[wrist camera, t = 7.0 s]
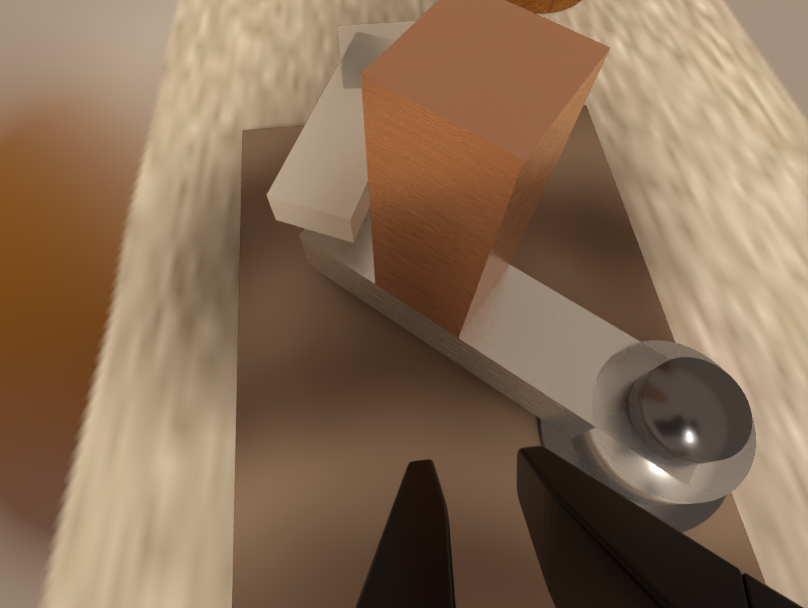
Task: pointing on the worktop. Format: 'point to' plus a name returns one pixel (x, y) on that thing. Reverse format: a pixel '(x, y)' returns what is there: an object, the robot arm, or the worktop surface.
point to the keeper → (334, 144)
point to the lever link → (499, 234)
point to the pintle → (679, 425)
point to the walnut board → (406, 401)
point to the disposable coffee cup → (544, 5)
